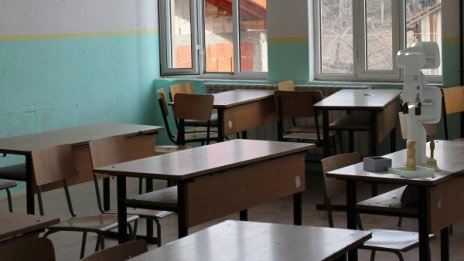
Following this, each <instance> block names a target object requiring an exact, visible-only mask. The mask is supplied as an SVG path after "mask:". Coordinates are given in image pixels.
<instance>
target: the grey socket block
mask: <svg viewBox="0 0 464 261" xmlns="http://www.w3.org/2000/svg"><path fill="white" fill-rule="evenodd" d="M362 160H363V164H362V166H363V168H362V169H363V171H366V172H371V173H385V172H387V173H389V172H388V168H393V158H390V157H389V158H388V157H384V156H371V157H370V156H369V157H363V158H362Z"/></svg>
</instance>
